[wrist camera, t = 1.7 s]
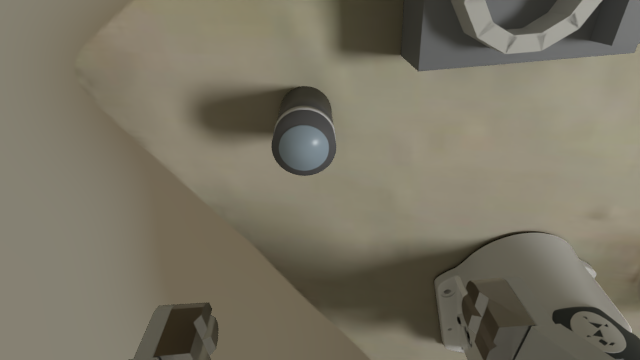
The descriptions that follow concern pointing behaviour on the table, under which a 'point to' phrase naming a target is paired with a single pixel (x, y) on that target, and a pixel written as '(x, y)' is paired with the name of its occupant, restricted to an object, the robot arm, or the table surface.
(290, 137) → the lens
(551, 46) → the camera body
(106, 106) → the table surface
